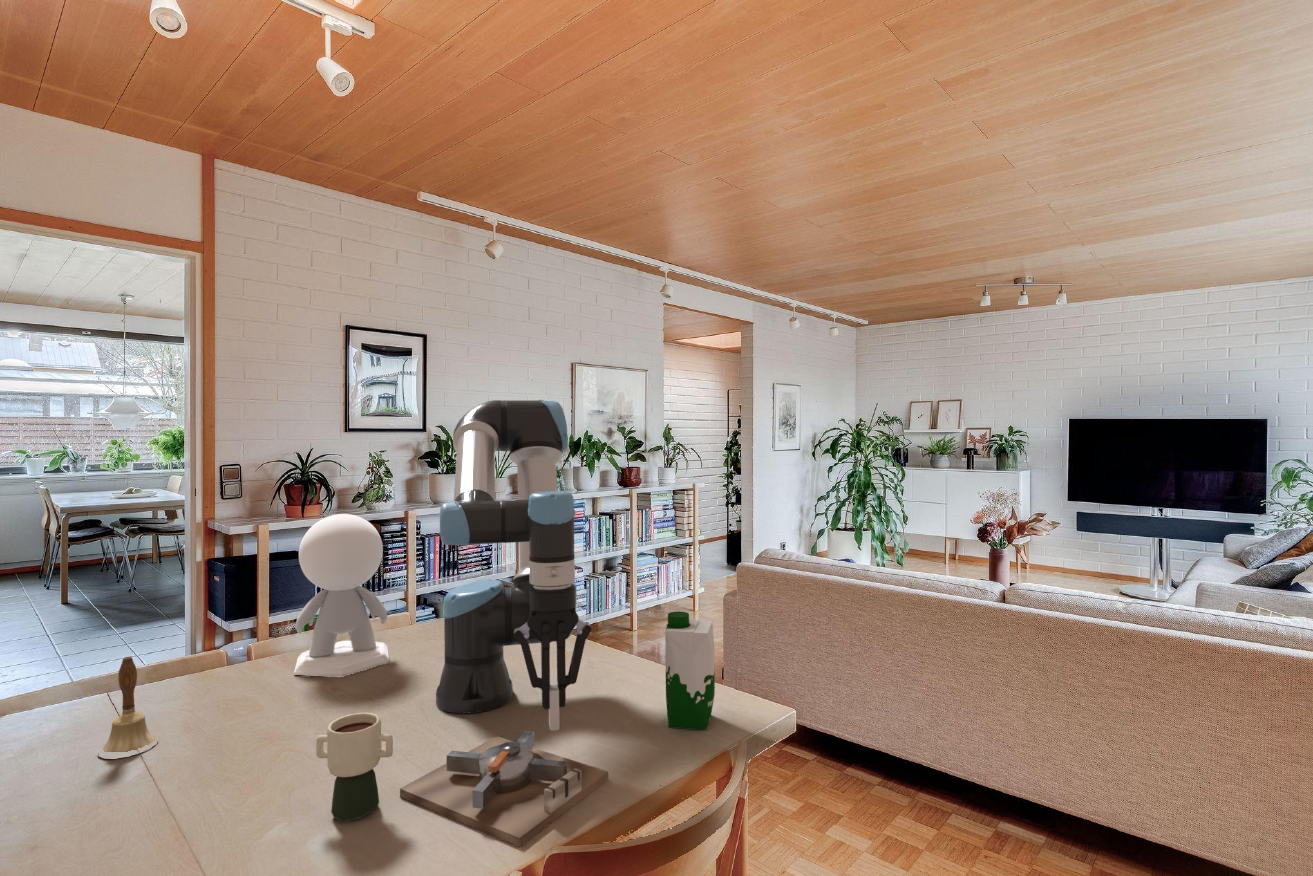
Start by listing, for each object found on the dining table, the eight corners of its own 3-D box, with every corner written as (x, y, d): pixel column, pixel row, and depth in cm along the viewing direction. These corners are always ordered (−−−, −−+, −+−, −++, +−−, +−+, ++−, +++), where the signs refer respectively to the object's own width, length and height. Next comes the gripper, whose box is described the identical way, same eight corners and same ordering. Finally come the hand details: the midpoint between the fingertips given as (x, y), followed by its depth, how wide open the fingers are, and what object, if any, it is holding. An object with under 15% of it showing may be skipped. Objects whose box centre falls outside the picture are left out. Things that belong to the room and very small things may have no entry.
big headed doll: (386, 642, 176) (384, 507, 175) (390, 671, 155) (388, 518, 154) (299, 653, 168) (297, 512, 167) (291, 685, 147) (288, 523, 146)
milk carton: (671, 709, 132) (670, 607, 132) (717, 713, 130) (716, 609, 130) (662, 729, 123) (661, 620, 123) (711, 733, 122) (711, 622, 121)
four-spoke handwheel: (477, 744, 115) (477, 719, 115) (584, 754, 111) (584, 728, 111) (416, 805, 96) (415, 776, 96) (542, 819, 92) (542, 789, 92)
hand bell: (169, 741, 120) (168, 652, 120) (119, 763, 112) (117, 668, 112) (137, 735, 123) (135, 647, 123) (86, 756, 115) (84, 662, 115)
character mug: (402, 798, 101) (401, 711, 101) (384, 826, 94) (382, 733, 94) (329, 799, 101) (327, 712, 101) (305, 827, 94) (303, 734, 94)
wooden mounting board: (400, 796, 101) (399, 768, 101) (496, 743, 119) (496, 719, 118) (519, 847, 89) (519, 815, 89) (608, 779, 106) (608, 752, 106)
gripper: (512, 592, 107) (514, 741, 107) (594, 587, 110) (596, 732, 110) (511, 582, 115) (513, 722, 115) (588, 578, 118) (590, 714, 118)
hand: (554, 726), depth 113 cm, fingers closed
